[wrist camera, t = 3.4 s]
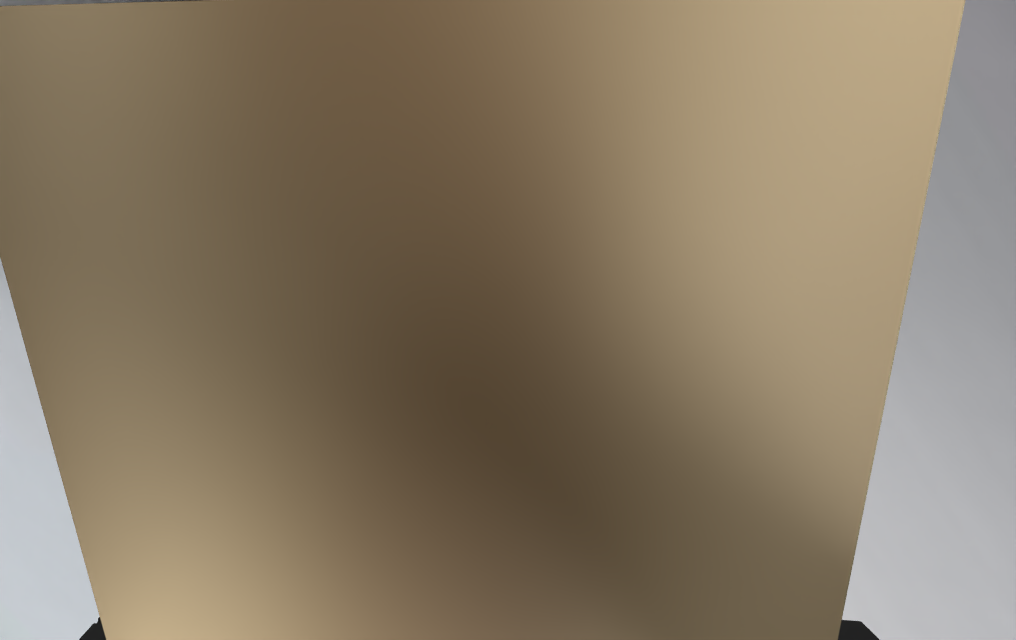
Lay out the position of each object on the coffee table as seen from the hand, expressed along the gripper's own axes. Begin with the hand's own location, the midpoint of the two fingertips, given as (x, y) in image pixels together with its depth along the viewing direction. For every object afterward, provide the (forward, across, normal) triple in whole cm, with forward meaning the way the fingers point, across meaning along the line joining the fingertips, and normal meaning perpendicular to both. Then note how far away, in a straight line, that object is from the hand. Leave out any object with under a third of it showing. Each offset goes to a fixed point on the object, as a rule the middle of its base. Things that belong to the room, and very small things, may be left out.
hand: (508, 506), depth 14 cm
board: (-3, 0, 0) cm, 3 cm away
